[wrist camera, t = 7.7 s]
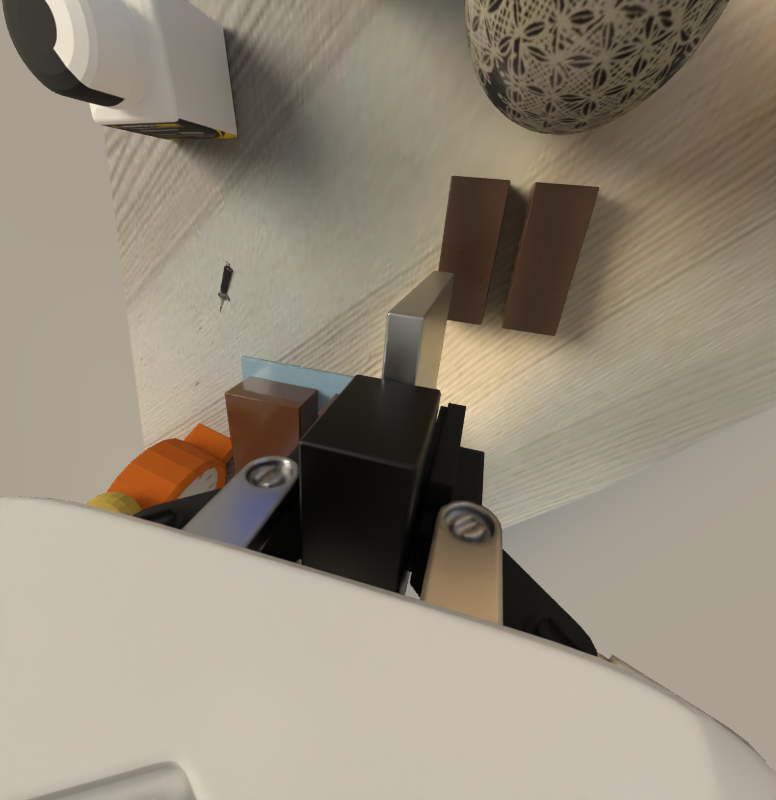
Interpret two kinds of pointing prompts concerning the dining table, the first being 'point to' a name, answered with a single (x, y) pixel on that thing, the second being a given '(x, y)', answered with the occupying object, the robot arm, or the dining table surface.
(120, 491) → the alarm clock
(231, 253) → the dining table surface
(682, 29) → the decorative egg
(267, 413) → the cake
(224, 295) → the knife
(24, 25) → the medicine bottle
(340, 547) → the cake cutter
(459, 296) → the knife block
